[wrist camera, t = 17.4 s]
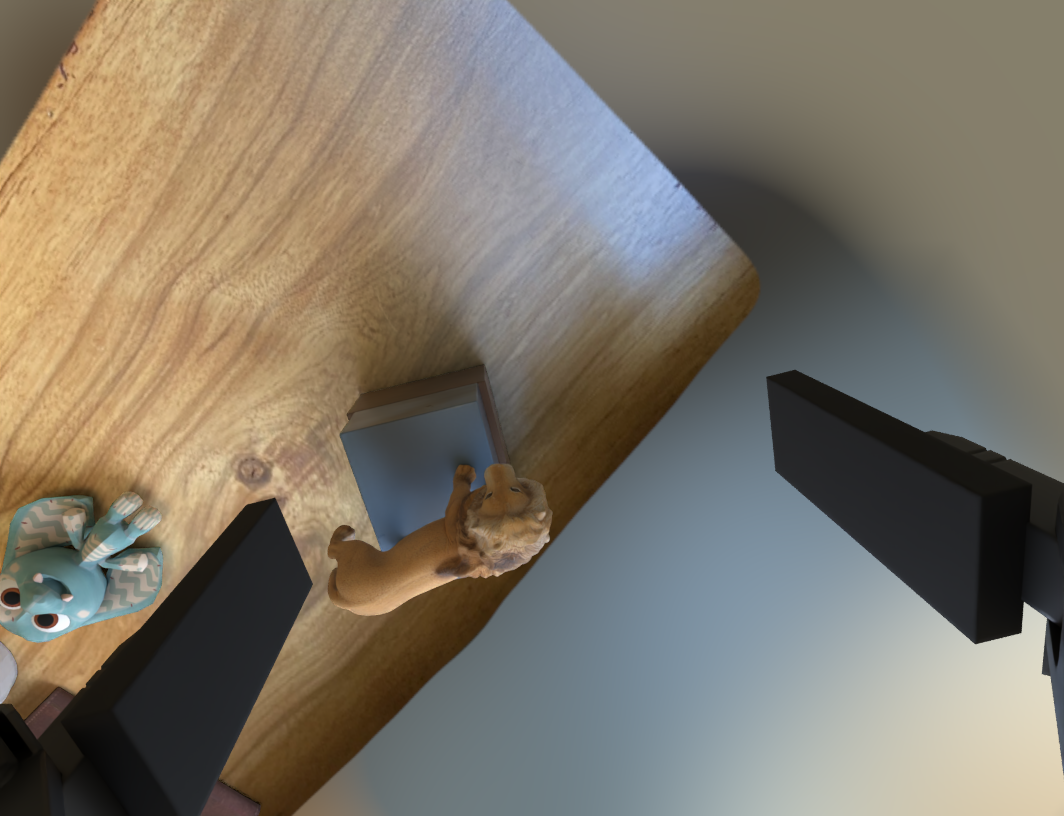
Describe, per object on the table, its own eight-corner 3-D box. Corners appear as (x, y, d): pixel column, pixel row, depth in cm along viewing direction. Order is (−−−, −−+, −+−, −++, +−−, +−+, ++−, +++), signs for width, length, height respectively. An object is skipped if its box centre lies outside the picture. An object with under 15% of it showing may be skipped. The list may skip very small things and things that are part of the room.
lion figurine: (506, 407, 32) (515, 472, 23) (557, 476, 33) (584, 560, 25) (305, 546, 33) (244, 655, 25) (363, 605, 35) (325, 728, 26)
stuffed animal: (188, 578, 36) (49, 709, 36) (221, 535, 43) (105, 644, 43) (39, 468, 33) (-115, 610, 33) (100, 441, 40) (-27, 557, 40)
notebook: (60, 684, 44) (41, 704, 42) (263, 803, 50) (254, 826, 48) (-49, 792, 46) (-72, 816, 44) (157, 894, 52) (144, 919, 50)
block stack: (484, 364, 39) (485, 398, 31) (519, 499, 43) (528, 561, 35) (360, 394, 39) (330, 436, 31) (406, 527, 43) (388, 596, 35)
